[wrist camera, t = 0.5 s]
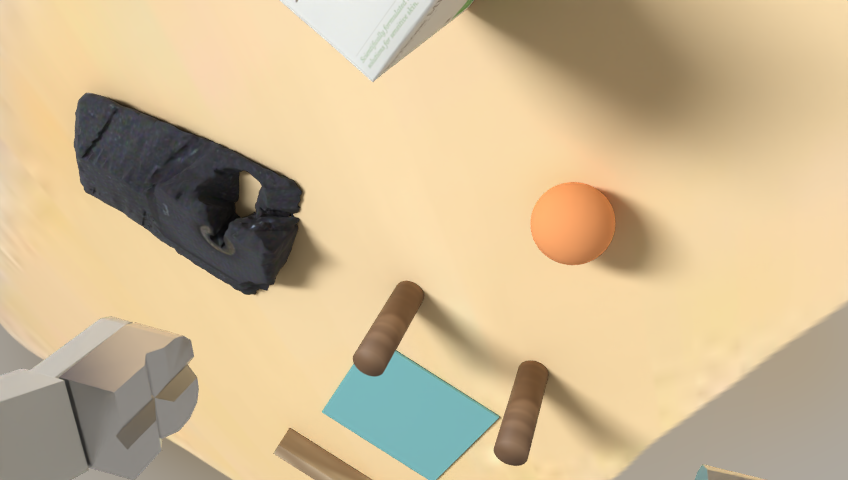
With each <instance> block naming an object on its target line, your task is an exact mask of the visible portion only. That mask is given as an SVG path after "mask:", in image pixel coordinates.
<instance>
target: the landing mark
mask: <svg viewBox="0 0 848 480" xmlns="http://www.w3.org/2000/svg"><path fill="white" fill-rule="evenodd" d="M322 413H324V414H326V415H327V416H329V417H330V418H332V419H333V420H335V421H337V422H338V423H340V424H341V425H343V426H345V427H346V428H348V429H349V430H351V431H352V432H354V433H356V434H357V435H359V436H360V437H362V438H363V439H365V440H367V441H368V442H370V443H371V444H373V445H374V446H376V447H378V448H379V449H381V450H382V451H384V452H386V453H387V454H389V455H390V456H392V457H393V458H395V459H397V460H398V461H400V462H401V463H403V464H404V465H406V466H408V467H409V468H411V469H412V470H414V471H415V472H417V473H419V474H420V475H422V476H423V477H425V478H427V479H428V480H436V479H437V478H438V477H439V476H440V475H441V474H442V473H443V472H444V471H445V470H446V469H447V468H448V467H449V466H450V465H451V464H452V463H453V462H454V461H455V460H456V459H457V458H458V457H459V456H460V455H462V454H463V453H464V452H465V451H466V450H467V449H468V448H469V447H470V446H471V445H472V444H473V443H474V442H475V441H476V440H477V439H478V438H479V437H480V436H481V435H482V434H483V433H484V432H485V431H486V430H487V429H488V428H489V427H490V426H491V425H492V424H493V423H494V422H495V421H496V420H497V419H498V418H499V416H498V415H497V414H495V413H494V412H492V411H490V410H489V409H487V408H486V407H484V406H483V405H481V404H479V403H478V402H476V401H475V400H473V399H472V398H470V397H468V396H467V395H465V394H464V393H462V392H460V391H459V390H457V389H456V388H454V387H453V386H451V385H449V384H448V383H446V382H445V381H443V380H442V379H440V378H438V377H437V376H435V375H434V374H432V373H431V372H429V371H427V370H426V369H424V368H423V367H421V366H420V365H418V364H416V363H415V362H413V361H412V360H410V359H409V358H407V357H405V356H404V355H402V354H401V353H399V352H398V351H395V352H394V354H393V356H392V358H391V360H390V362H389V363H388V365H387V367H386V369H385V371H384V372H383V374H382V375H380V376H376V377H373V376H368V375H366V374H364V373H362V372H361V371H359V370H358V369H357V368H356V366H355V365H354V364H353V366H352V367H351V369H350V370H349V372H348V373H347V375H346V376H345V378H344V379H343V381H342V382H341V384H340V385H339V387H338V388H337V390H336V391H335V393H334V394H333V396H332V397H331V399H330V400H329V402H328V403H327V405H326V406H325V408H324V409H323V411H322Z"/></svg>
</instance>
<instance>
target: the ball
mask: <svg viewBox="0 0 848 480" xmlns="http://www.w3.org/2000/svg"><path fill="white" fill-rule="evenodd" d="M531 232H532V236H533V239H534V241H535V243H536V245H537V246H538V248H539V249H540V250H541V251H542V253H544V254H545V255H546V256H547V257H549V258H550V259H552V260H554V261H556V262H558V263H562V264H566V265H579V264H584V263H587V262H590V261H592V260H594V259H596V258H597V257H599V256H600V255H601V254H602V253H603V252H604V251H605V250H606V249H607V248H608V246H609V245H610V243H611V241H612V239H613V236H614V232H615V215H614V211H613V208H612V206H611V204H610V202H609V201H608V199H607V198H606V197H605V196H604V195H603V194H602V193H601V192H600V191H599V190H597V189H596V188H594V187H592V186H590V185H587V184H583V183H577V182H570V183H563V184H560V185H557V186H555V187H553V188H551V189H549V190H548V191H547V192H545V193H544V194H543V195H542V196H541V197H540V199H539V200H538V201H537V203H536V205H535V207H534V209H533V212H532V216H531Z"/></svg>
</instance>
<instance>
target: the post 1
mask: <svg viewBox="0 0 848 480" xmlns="http://www.w3.org/2000/svg"><path fill="white" fill-rule="evenodd" d="M423 299H424V294H423V291H422V289H421V288H420V287H419V286H418V285H417V284H415V283H413V282H410V281H402V282H400V283H399V284H398V285H397V286H396V288H395V289H394V291H393V292H392V294H391V296H390V297H389V299H388V301H387V302H386V304H385V305H384V307H383V309H382V310H381V312H380V313H379V315H378V317H377V318H376V320H375V322H374V323H373V325H372V326H371V328H370V330H369V331H368V333H367V334H366V336H365V338H364V339H363V341H362V343H361V344H360V346H359V347H358V349H357V351H356V352H355V354H354V356H353V362H354V365H355V366H356V368H357V369H358V370H359V371H361V372H362V373H364V374H366V375H368V376H373V377H376V376H380V375H382V374H383V372H384V371H385V369H386V367H387V365H388V363H389V362H390V360H391V358H392V356H393V354H394V352H395V351H396V349H397V347H398V345H399V343H400V341H401V340H402V338H403V336H404V334H405V332H406V331H407V329H408V327H409V325H410V323H411V321H412V320H413V318H414V316H415V314H416V312H417V310H418V309H419V307H420V305H421V303H422V301H423Z"/></svg>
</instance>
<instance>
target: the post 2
mask: <svg viewBox="0 0 848 480" xmlns="http://www.w3.org/2000/svg"><path fill="white" fill-rule="evenodd" d="M547 380H548V370H547V369H546V367H545V366H544V365H542V364H541V363H539V362H536V361H525V362H523V363H522V364H521V365H520V366H519V369H518V372H517V375H516V378H515V382H514V385H513V388H512V391H511V395H510V398H509V401H508V404H507V408H506V411H505V414H504V417H503V421H502V424H501V427H500V430H499V434H498V437H497V440H496V443H495V447H494V453H495V455H496V457H497V458H498V459H499V460H501V461H502V462H504V463H506V464H509V465H513V466H519V465H522V464H524V463H525V462H526V461H527V459H528V455H529V451H530V447H531V443H532V439H533V435H534V431H535V427H536V423H537V419H538V415H539V411H540V407H541V403H542V399H543V396H544V392H545V388H546V384H547Z"/></svg>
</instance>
